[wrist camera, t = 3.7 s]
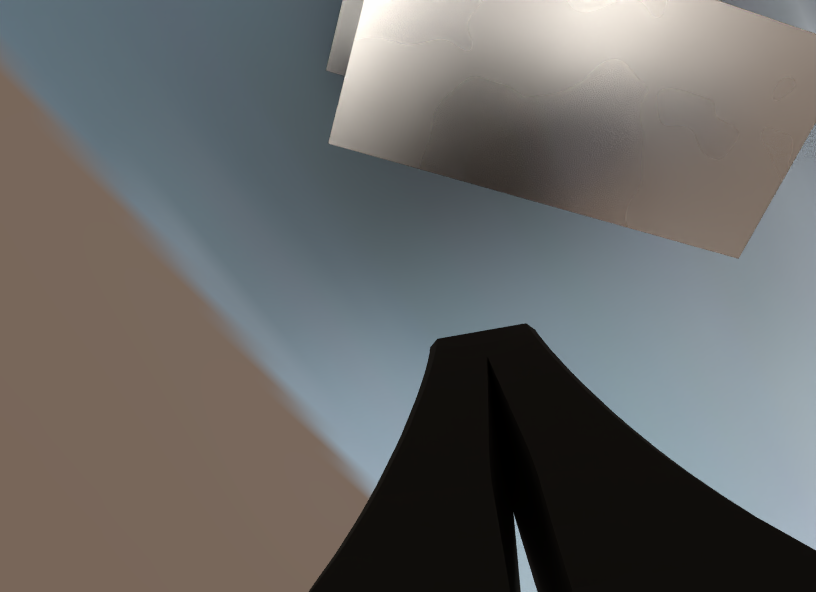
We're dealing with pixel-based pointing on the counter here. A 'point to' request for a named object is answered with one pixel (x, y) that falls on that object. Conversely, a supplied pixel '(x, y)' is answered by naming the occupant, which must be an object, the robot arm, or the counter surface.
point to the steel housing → (585, 104)
